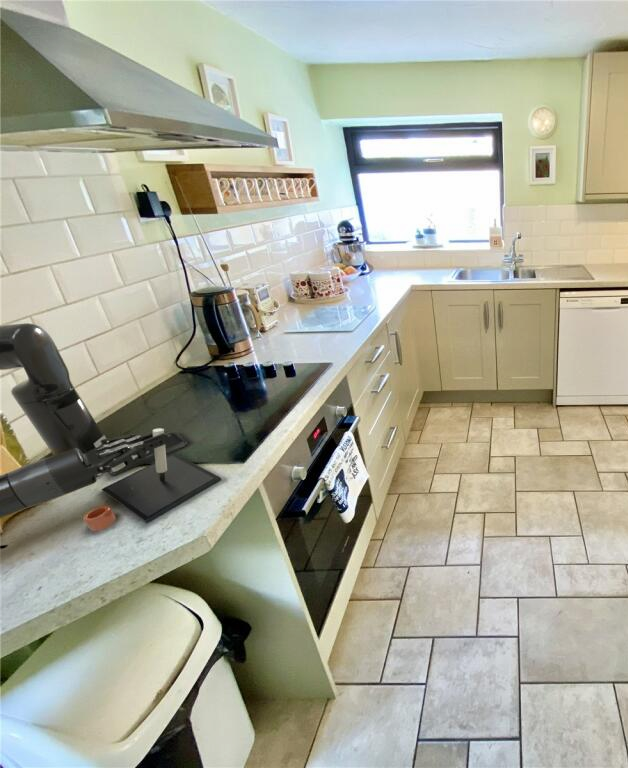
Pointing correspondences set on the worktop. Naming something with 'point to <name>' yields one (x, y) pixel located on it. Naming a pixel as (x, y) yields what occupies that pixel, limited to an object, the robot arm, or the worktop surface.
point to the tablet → (160, 487)
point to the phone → (174, 444)
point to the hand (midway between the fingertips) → (166, 435)
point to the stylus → (160, 456)
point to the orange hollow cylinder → (99, 518)
